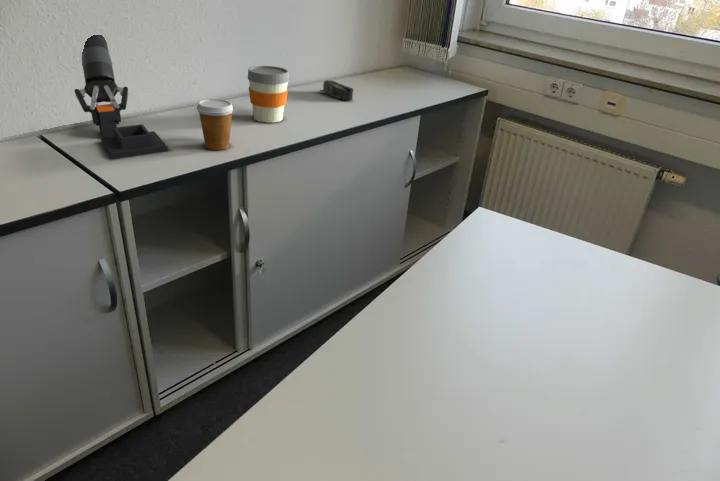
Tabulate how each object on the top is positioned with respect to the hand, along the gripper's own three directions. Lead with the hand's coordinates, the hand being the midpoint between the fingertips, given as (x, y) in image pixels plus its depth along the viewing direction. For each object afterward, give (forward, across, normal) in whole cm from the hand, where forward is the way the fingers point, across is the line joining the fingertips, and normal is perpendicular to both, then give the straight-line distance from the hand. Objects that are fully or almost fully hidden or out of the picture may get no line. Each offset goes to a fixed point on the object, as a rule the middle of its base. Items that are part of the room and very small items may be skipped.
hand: (107, 123), depth 147 cm
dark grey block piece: (-14, -78, -20) cm, 82 cm away
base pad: (+9, -6, +3) cm, 11 cm away
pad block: (+2, 0, -4) cm, 5 cm away
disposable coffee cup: (+12, -27, +6) cm, 30 cm away
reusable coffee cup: (-1, -47, -7) cm, 47 cm away
